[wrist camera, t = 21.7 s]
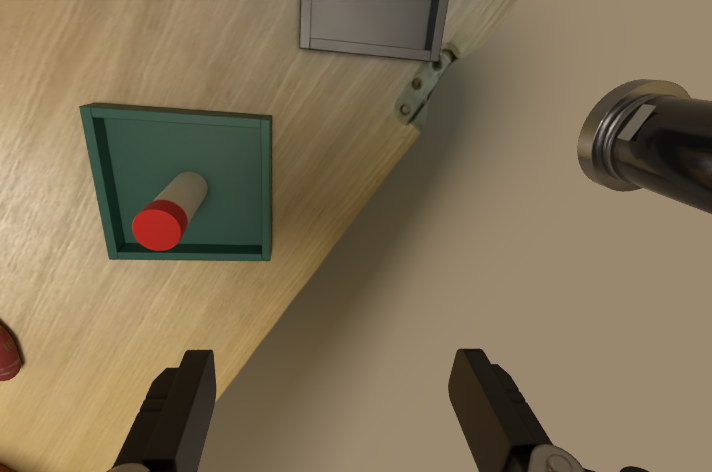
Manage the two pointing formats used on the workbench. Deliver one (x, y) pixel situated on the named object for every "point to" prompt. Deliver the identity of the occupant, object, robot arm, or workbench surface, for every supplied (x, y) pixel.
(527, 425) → the robot arm
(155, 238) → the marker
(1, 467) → the lamp
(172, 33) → the workbench surface
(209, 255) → the tray far
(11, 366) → the pliers
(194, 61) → the workbench surface
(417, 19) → the tray near
